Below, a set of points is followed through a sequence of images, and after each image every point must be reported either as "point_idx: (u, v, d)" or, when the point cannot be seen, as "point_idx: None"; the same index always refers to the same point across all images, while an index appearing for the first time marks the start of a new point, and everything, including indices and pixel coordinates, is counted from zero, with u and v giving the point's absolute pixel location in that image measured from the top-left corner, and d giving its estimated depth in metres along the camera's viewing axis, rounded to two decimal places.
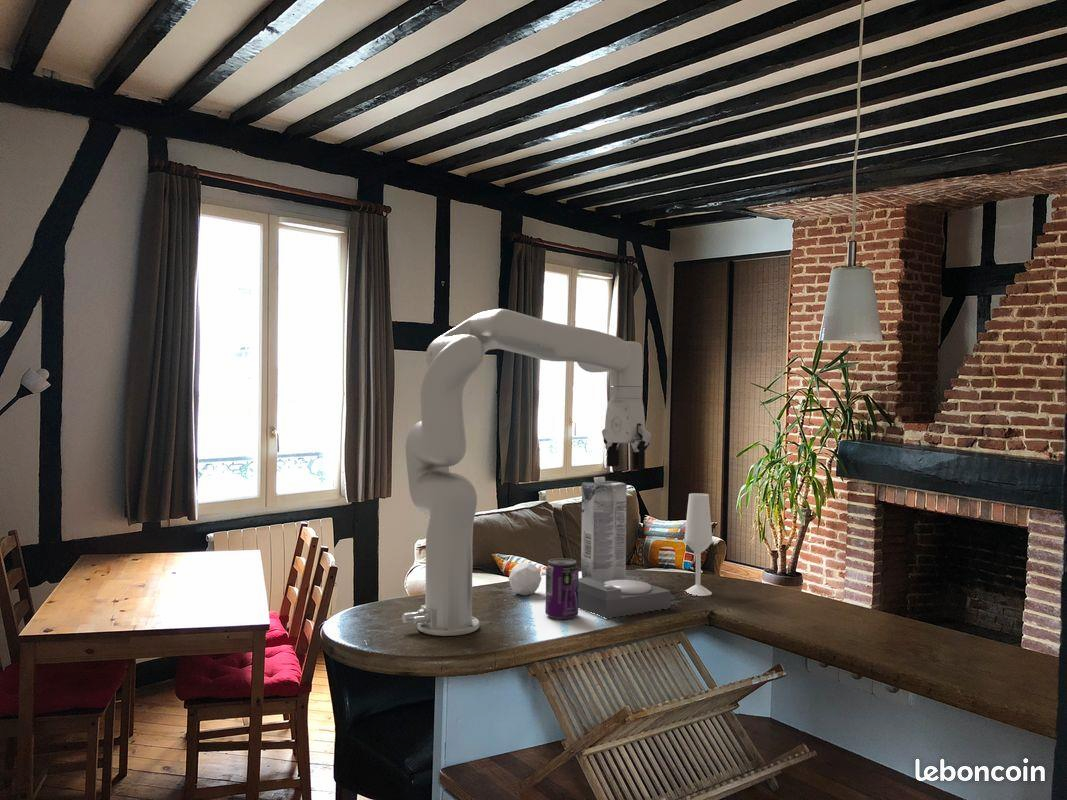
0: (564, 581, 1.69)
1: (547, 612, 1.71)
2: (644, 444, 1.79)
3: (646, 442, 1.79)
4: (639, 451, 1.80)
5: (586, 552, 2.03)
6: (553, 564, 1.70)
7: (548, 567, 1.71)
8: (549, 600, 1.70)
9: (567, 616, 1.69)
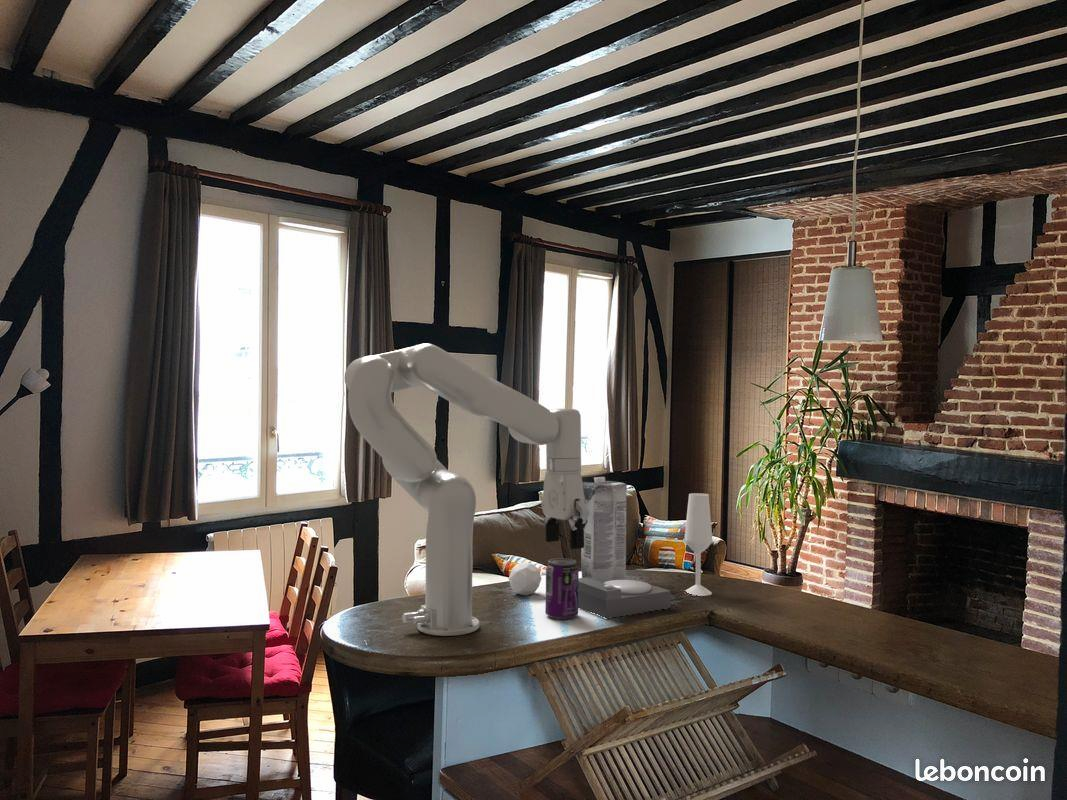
0: (564, 581, 1.69)
1: (547, 612, 1.71)
2: (582, 522, 1.66)
3: (584, 520, 1.66)
4: (577, 529, 1.67)
5: (586, 552, 2.03)
6: (553, 564, 1.70)
7: (548, 567, 1.71)
8: (549, 600, 1.70)
9: (567, 616, 1.69)
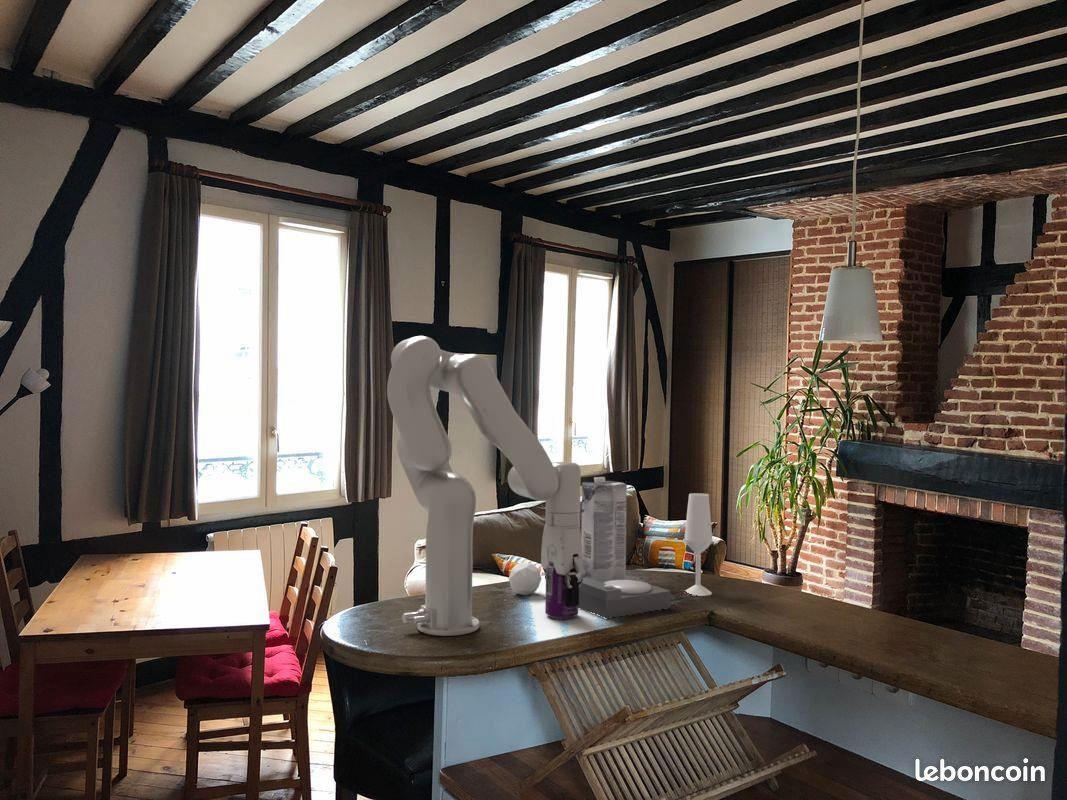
0: (564, 581, 1.69)
1: (547, 612, 1.71)
2: (577, 581, 1.67)
3: (579, 578, 1.67)
4: (572, 587, 1.68)
5: (586, 552, 2.03)
6: (553, 564, 1.70)
7: (548, 567, 1.71)
8: (549, 600, 1.70)
9: (567, 616, 1.69)
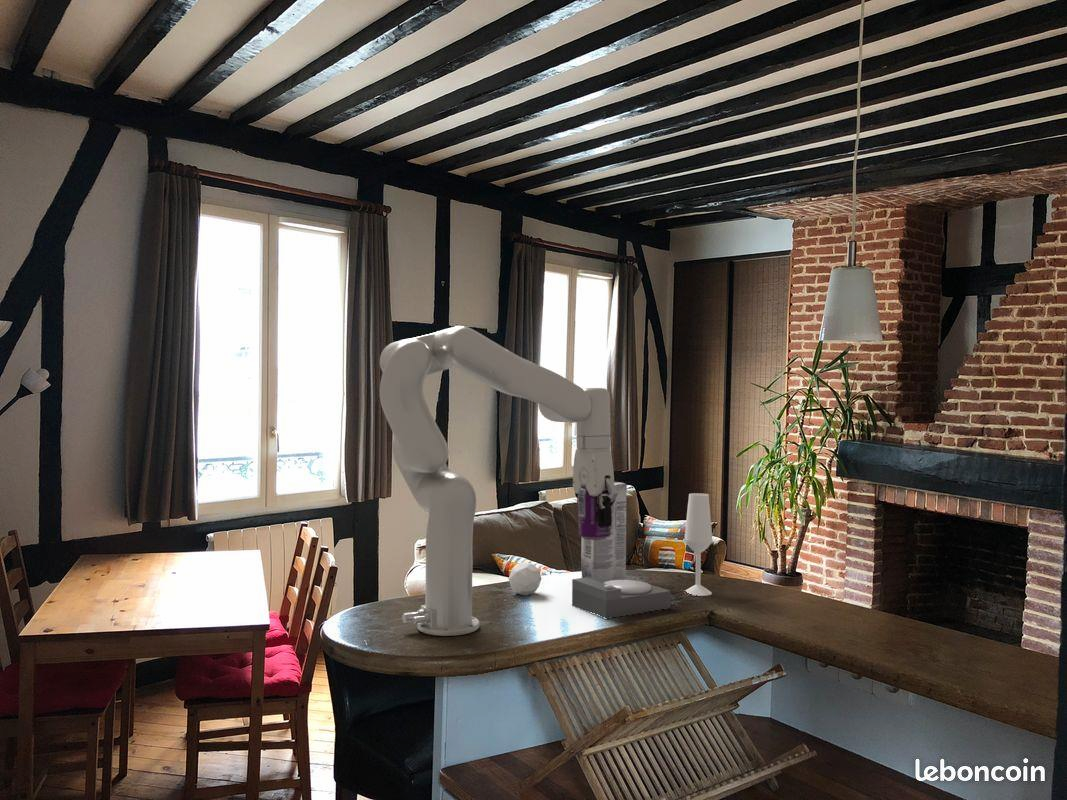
0: (596, 502, 1.73)
1: (580, 533, 1.75)
2: (609, 501, 1.71)
3: (612, 498, 1.71)
4: (605, 507, 1.72)
5: (586, 552, 2.03)
6: (585, 486, 1.74)
7: (580, 490, 1.76)
8: (582, 521, 1.75)
9: (600, 536, 1.74)
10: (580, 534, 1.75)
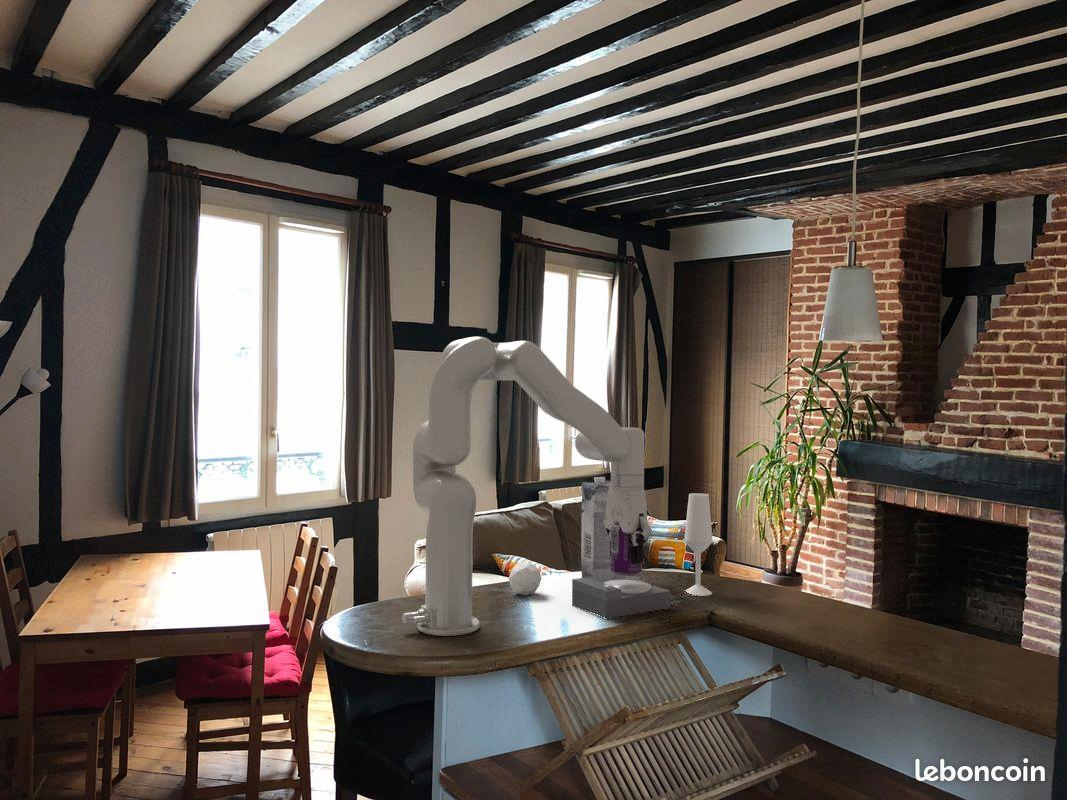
0: (629, 539, 1.78)
1: (613, 569, 1.80)
2: (643, 539, 1.76)
3: (645, 536, 1.76)
4: (638, 544, 1.77)
5: (586, 552, 2.03)
6: (619, 523, 1.79)
7: (614, 526, 1.80)
8: (615, 557, 1.79)
9: (632, 572, 1.78)
10: (612, 569, 1.80)
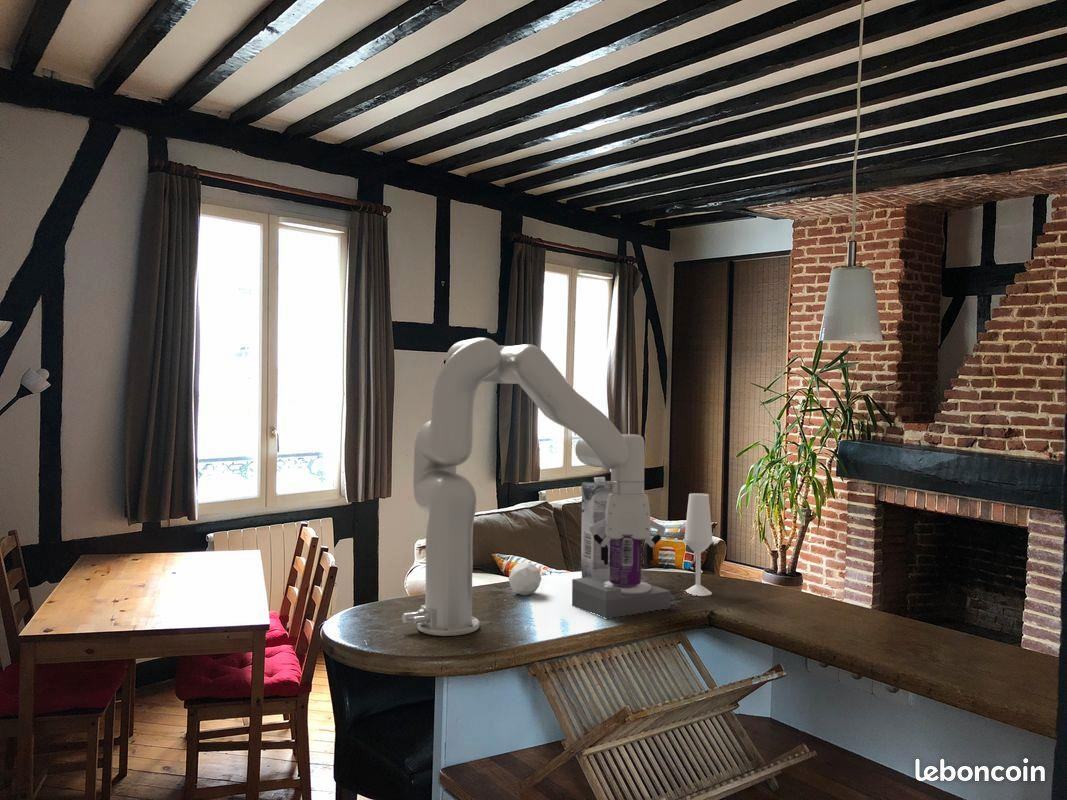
0: (640, 549, 1.80)
1: (625, 583, 1.78)
2: None
3: None
4: (654, 545, 1.81)
5: (586, 552, 2.03)
6: (631, 535, 1.79)
7: (624, 540, 1.78)
8: (629, 570, 1.78)
9: (640, 582, 1.81)
10: (624, 583, 1.78)
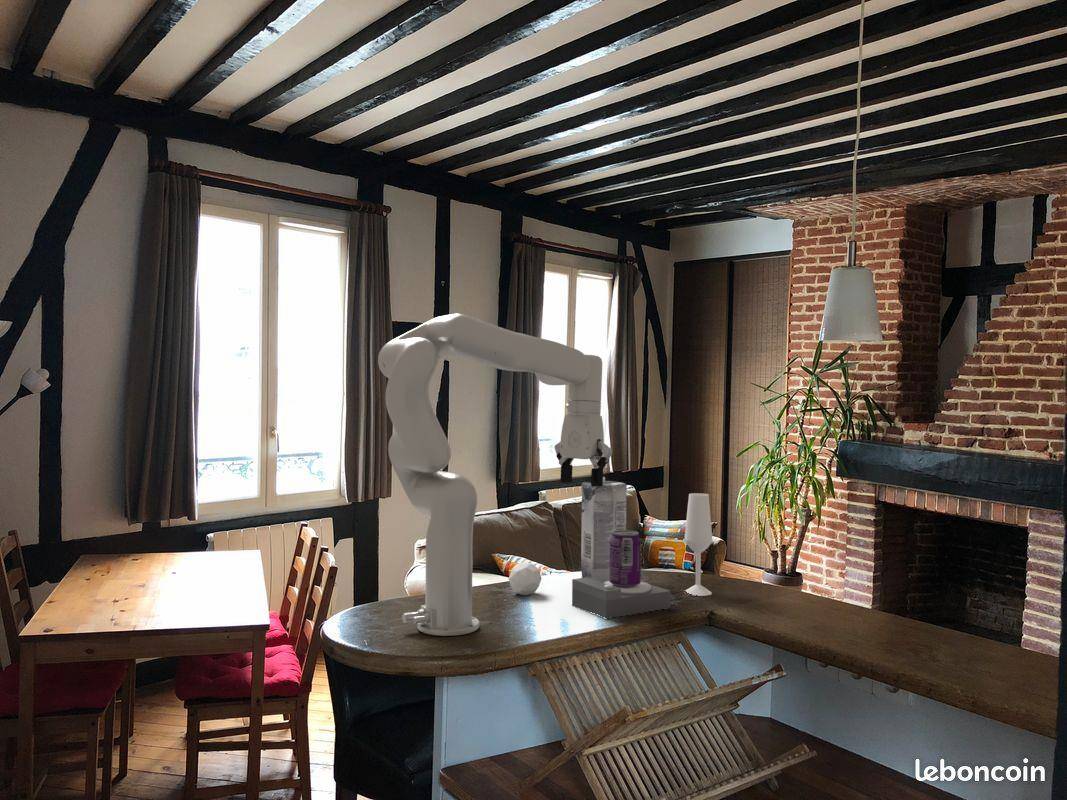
0: (640, 549, 1.80)
1: (625, 583, 1.78)
2: (605, 460, 1.76)
3: (607, 458, 1.76)
4: (599, 467, 1.76)
5: (586, 552, 2.03)
6: (631, 535, 1.79)
7: (624, 539, 1.78)
8: (629, 570, 1.78)
9: (640, 581, 1.81)
10: (624, 583, 1.78)
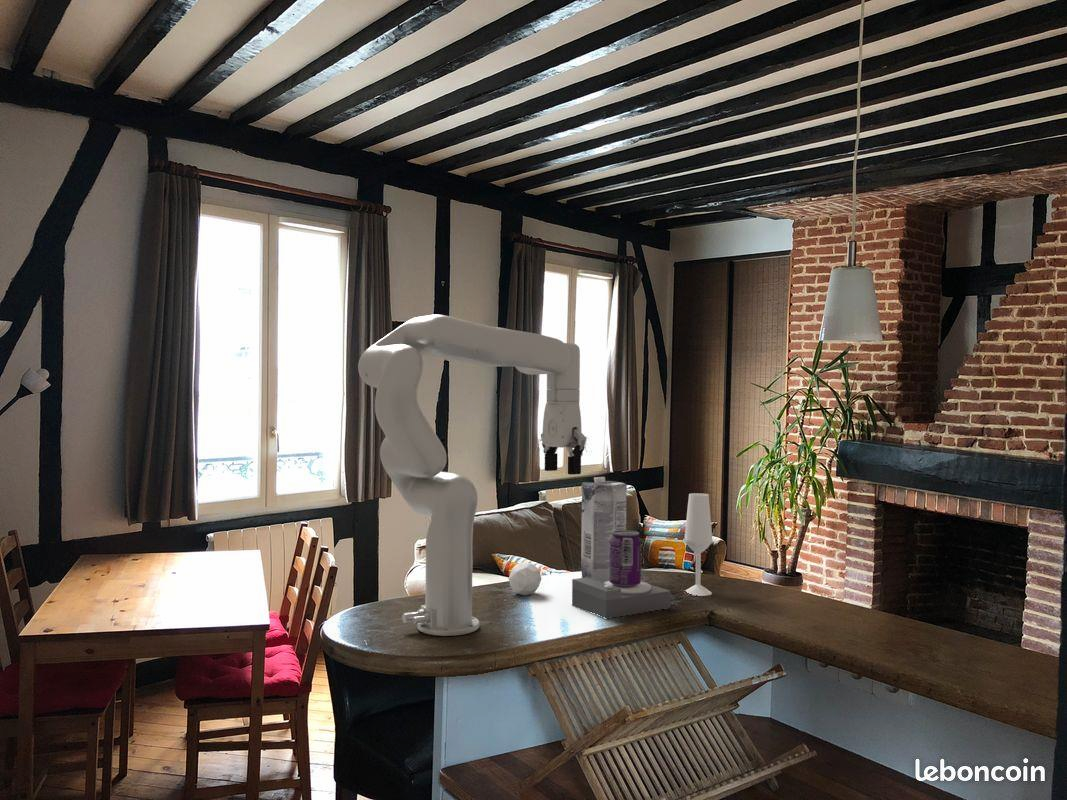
0: (640, 549, 1.80)
1: (625, 582, 1.78)
2: (579, 448, 1.75)
3: (581, 446, 1.75)
4: (574, 455, 1.76)
5: (586, 552, 2.03)
6: (631, 535, 1.79)
7: (624, 539, 1.78)
8: (629, 570, 1.78)
9: (640, 581, 1.81)
10: (624, 583, 1.78)
